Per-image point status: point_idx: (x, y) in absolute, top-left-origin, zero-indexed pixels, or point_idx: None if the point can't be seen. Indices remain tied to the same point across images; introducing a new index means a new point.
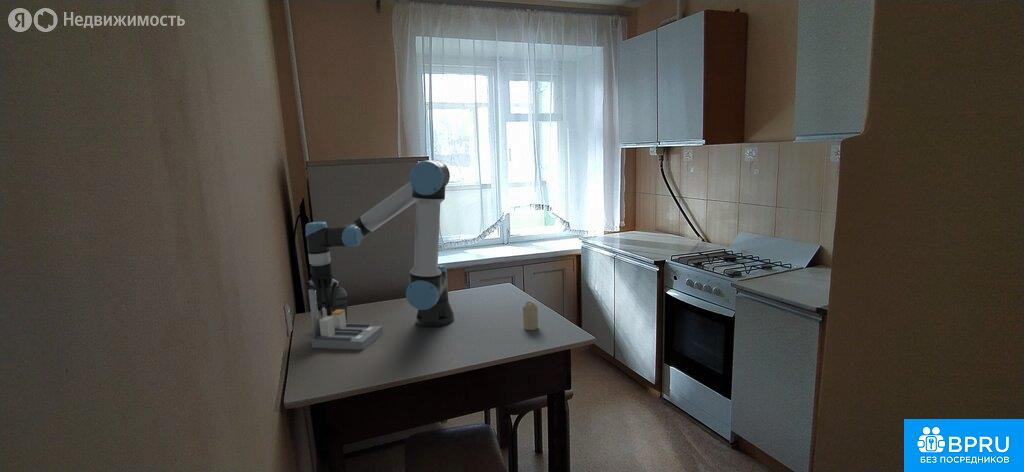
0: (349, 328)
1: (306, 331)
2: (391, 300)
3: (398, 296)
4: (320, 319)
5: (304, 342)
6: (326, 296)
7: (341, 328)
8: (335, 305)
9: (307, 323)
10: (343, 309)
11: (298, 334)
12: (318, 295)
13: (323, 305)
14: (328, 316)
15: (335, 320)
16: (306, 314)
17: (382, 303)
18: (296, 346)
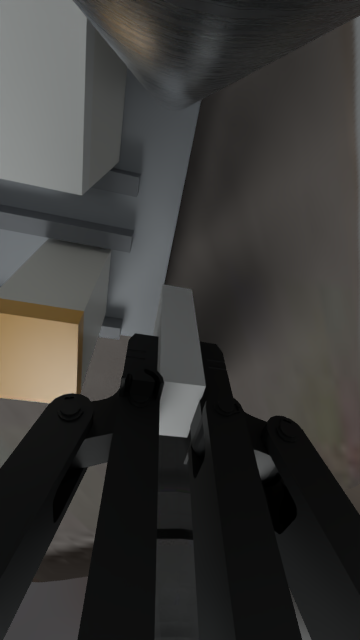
0: (7, 268)
1: (315, 336)
2: (76, 543)
3: (70, 560)
4: (86, 19)
5: (297, 170)
6: (102, 569)
7: (30, 231)
8: (170, 484)
9: (325, 415)
10: (5, 396)
11: (352, 304)
12: (278, 598)
13: (198, 429)
14: (33, 185)
15: (66, 277)
16: (342, 480)
17: (94, 530)
18: (343, 88)
